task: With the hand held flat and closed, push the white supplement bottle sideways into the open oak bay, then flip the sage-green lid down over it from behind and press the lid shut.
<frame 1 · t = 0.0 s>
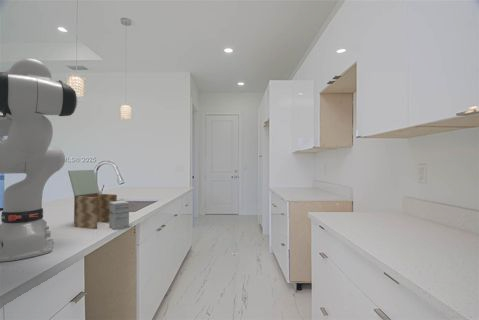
hand: (18, 147, 112), 39 cm above the worktop, tool pointing down, fingers open, 8 cm apart
lid: (84, 182, 134), point 22 cm above the worktop, hinge at 110.0°
supplement box: (119, 227, 127), on the worktop
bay: (97, 224, 131), on the worktop
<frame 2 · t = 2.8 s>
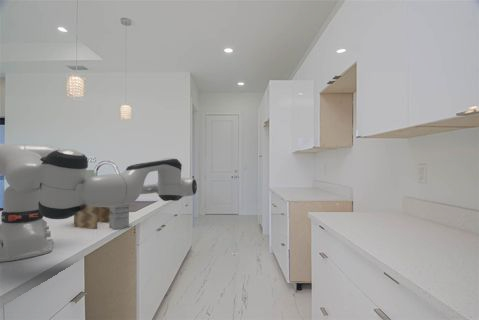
hand: (140, 188, 124), 20 cm above the worktop, tool horizontal, fingers open, 8 cm apart
nothing on the worktop moved.
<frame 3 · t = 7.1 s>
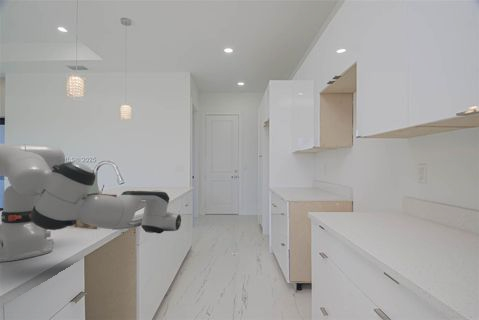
hand: (126, 218, 126), 4 cm above the worktop, tool horizontal, fingers closed
supplement box: (117, 227, 127), on the worktop, touching gripper
everything else where it was.
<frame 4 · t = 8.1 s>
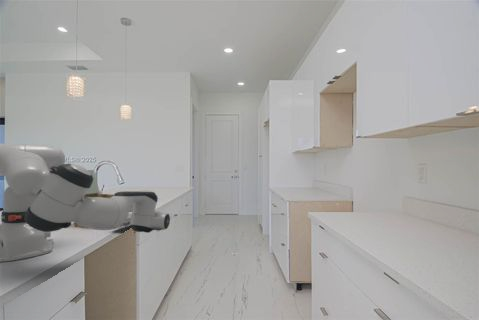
hand: (117, 217, 128), 4 cm above the worktop, tool horizontal, fingers closed
supplement box: (107, 226, 128), on the worktop, touching gripper
everything else where it was.
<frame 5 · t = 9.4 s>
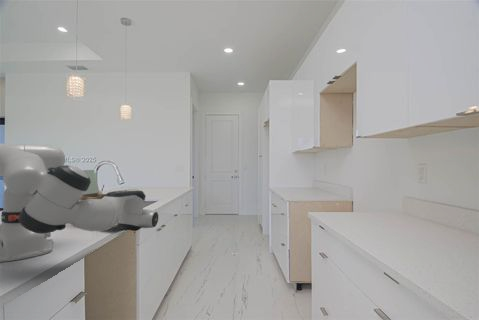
hand: (106, 215, 129), 5 cm above the worktop, tool horizontal, fingers closed, pressing on supplement box
supplement box: (98, 226, 129), on the worktop, touching gripper
everything else where it was.
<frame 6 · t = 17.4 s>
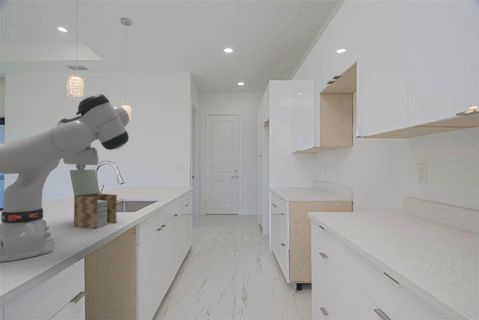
hand: (80, 173, 135), 26 cm above the worktop, tool pointing down, fingers closed
lid: (85, 182, 134), point 22 cm above the worktop, hinge at 105.2°, touching gripper
supplement box: (96, 226, 129), on the worktop
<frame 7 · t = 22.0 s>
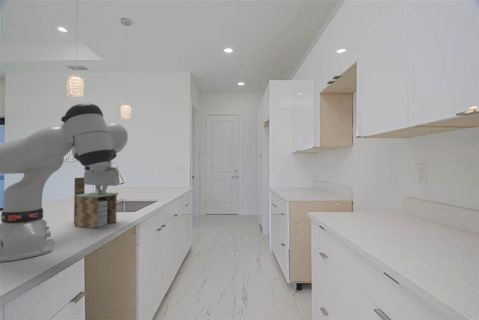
hand: (101, 194, 130), 16 cm above the worktop, tool pointing down, fingers closed, pressing on lid
lid: (97, 194, 131), point 16 cm above the worktop, hinge at 0.3°, touching gripper
everything else where it was.
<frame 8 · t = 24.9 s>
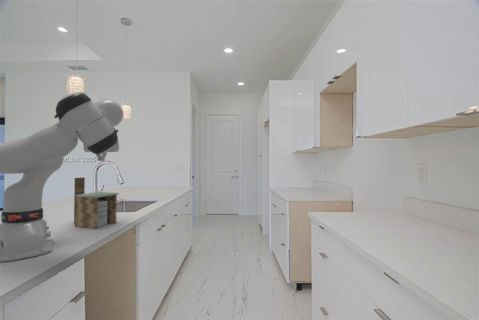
hand: (101, 160, 131), 33 cm above the worktop, tool pointing down, fingers closed
lid: (97, 194, 131), point 15 cm above the worktop, hinge at 0.0°
everything else where it was.
at the end: supplement box 2.1 cm from the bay (horizontally); supplement box tilted 0°; lid at +0° (first picture: +110°) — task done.
